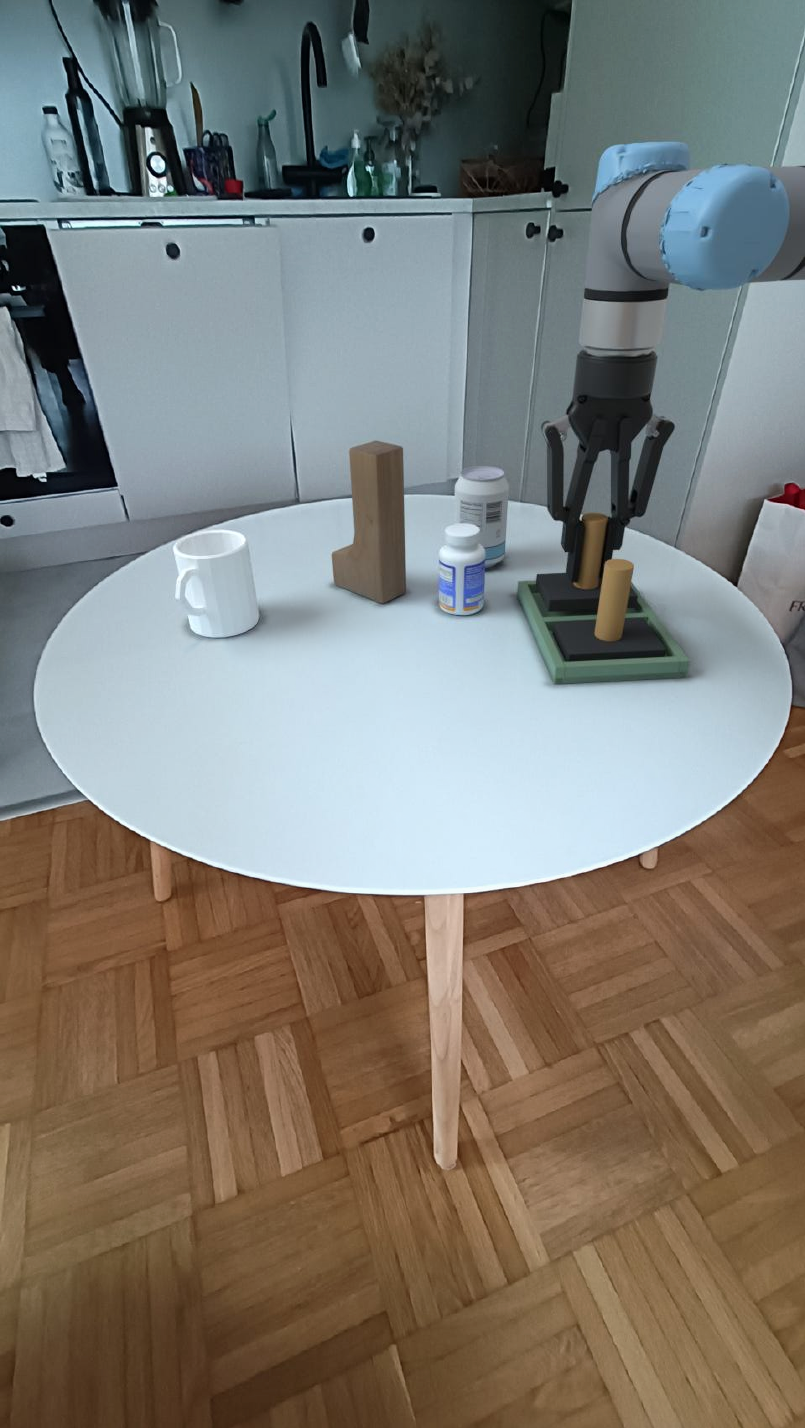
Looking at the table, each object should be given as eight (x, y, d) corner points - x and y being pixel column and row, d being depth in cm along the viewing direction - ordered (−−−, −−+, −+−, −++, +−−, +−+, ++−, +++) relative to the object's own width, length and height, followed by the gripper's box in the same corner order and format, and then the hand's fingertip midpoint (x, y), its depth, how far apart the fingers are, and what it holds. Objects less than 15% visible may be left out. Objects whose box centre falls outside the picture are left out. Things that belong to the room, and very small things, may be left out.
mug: (158, 650, 80) (137, 567, 74) (212, 602, 89) (197, 526, 84) (222, 659, 78) (205, 575, 72) (270, 610, 87) (259, 532, 82)
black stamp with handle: (663, 662, 74) (682, 576, 68) (567, 666, 74) (578, 581, 68) (641, 629, 80) (657, 548, 74) (552, 633, 79) (561, 552, 74)
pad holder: (686, 677, 73) (690, 660, 72) (553, 684, 72) (555, 667, 71) (625, 590, 89) (627, 576, 88) (516, 595, 89) (517, 581, 88)
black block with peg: (636, 607, 81) (651, 526, 75) (548, 612, 81) (556, 530, 75) (617, 581, 87) (630, 504, 81) (535, 585, 86) (542, 507, 81)
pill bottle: (484, 597, 89) (487, 520, 83) (482, 617, 84) (486, 538, 79) (440, 595, 89) (441, 519, 84) (436, 615, 85) (436, 537, 79)
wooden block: (332, 584, 93) (320, 440, 82) (357, 573, 95) (348, 432, 85) (382, 605, 88) (376, 454, 77) (407, 593, 90) (404, 445, 80)
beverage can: (503, 552, 100) (509, 464, 93) (504, 572, 95) (510, 481, 88) (454, 551, 101) (456, 464, 94) (452, 571, 95) (453, 481, 88)
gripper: (684, 340, 72) (644, 560, 85) (527, 345, 71) (512, 566, 85) (715, 352, 66) (666, 587, 79) (544, 359, 65) (524, 594, 79)
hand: (586, 576), depth 82 cm, fingers closed on black block with peg, 3 cm apart
